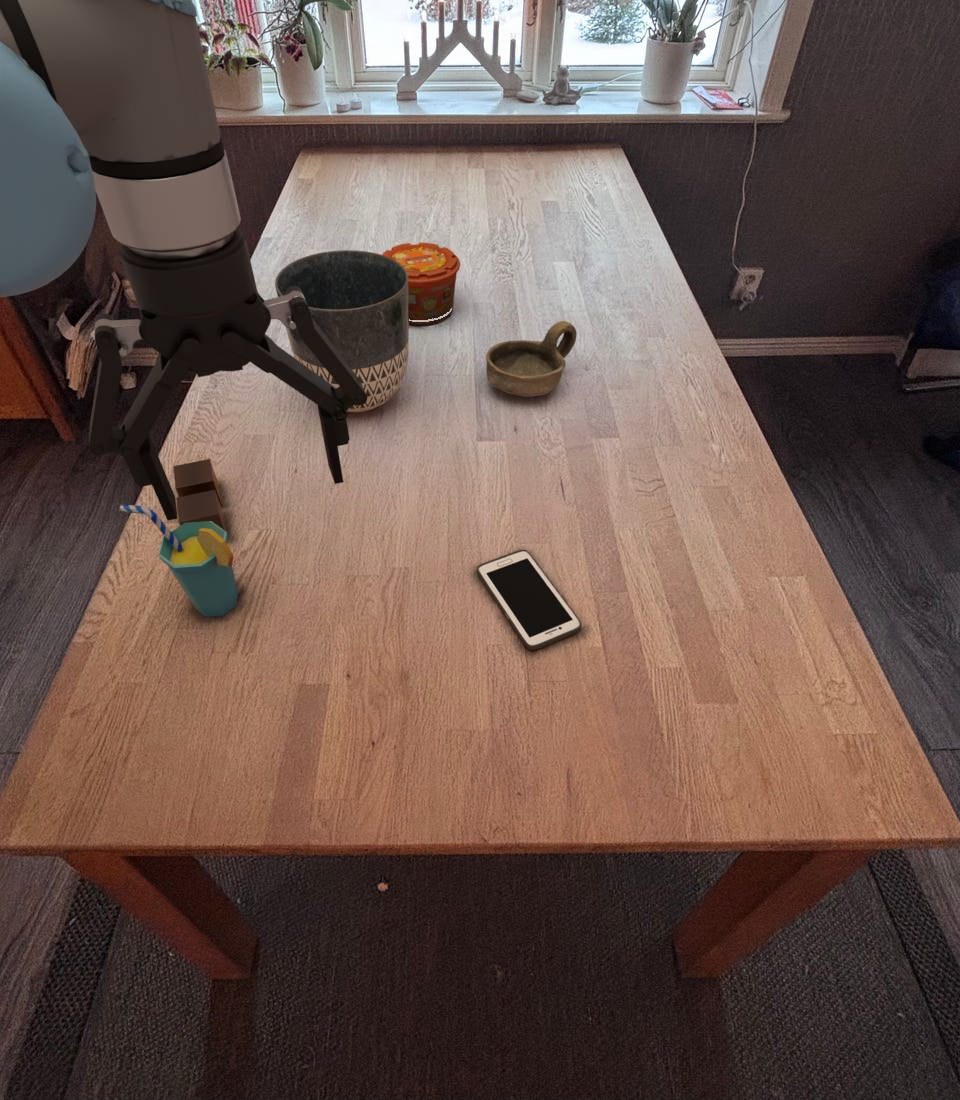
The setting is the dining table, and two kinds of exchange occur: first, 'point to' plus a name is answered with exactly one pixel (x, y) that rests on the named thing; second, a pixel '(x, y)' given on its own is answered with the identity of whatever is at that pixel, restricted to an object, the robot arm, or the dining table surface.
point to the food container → (428, 279)
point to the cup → (198, 562)
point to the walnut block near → (200, 509)
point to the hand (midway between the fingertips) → (256, 491)
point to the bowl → (530, 362)
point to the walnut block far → (196, 478)
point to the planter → (355, 316)
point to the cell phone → (528, 599)
